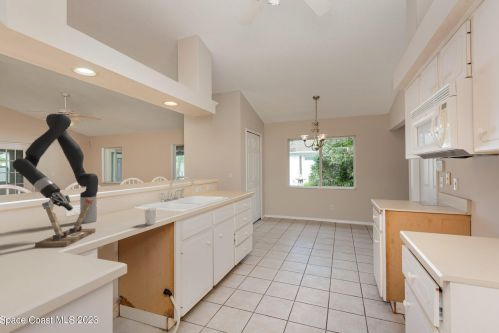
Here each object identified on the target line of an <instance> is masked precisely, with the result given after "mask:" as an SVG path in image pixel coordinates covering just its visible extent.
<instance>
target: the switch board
mask: <svg viewBox="0 0 499 333" xmlns="http://www.w3.org/2000/svg"><path fill="white" fill-rule="evenodd" d="M62 232H63V233H64V236H63V237H61V235H56V234H54V235H52V236H48V237H47V238H44V239H42V240H39V241H37V242H35V243H34V248H56V247H57V248H58V247H61V248H63V247H69V246H70V244H71V245H72V243H73V244H74V243H76V242H78V241H80V240H82V239H84V238H86V237H88V236H90V235H92V234H95V233H96V228H83V226H82V225H81V226H80V228H79V230H77V228H74V227H71V228H69V229H67V230H65V231H62ZM62 246H63V247H62Z"/></svg>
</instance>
